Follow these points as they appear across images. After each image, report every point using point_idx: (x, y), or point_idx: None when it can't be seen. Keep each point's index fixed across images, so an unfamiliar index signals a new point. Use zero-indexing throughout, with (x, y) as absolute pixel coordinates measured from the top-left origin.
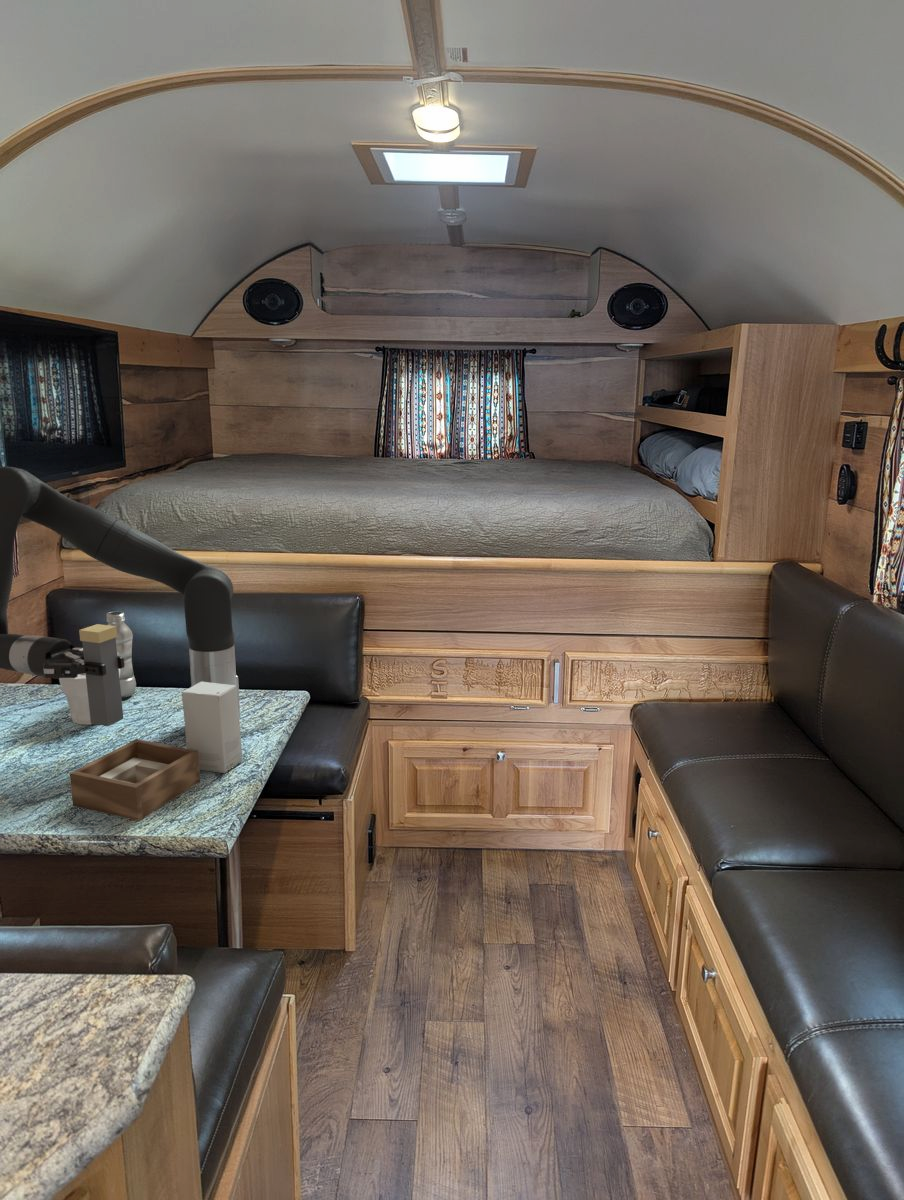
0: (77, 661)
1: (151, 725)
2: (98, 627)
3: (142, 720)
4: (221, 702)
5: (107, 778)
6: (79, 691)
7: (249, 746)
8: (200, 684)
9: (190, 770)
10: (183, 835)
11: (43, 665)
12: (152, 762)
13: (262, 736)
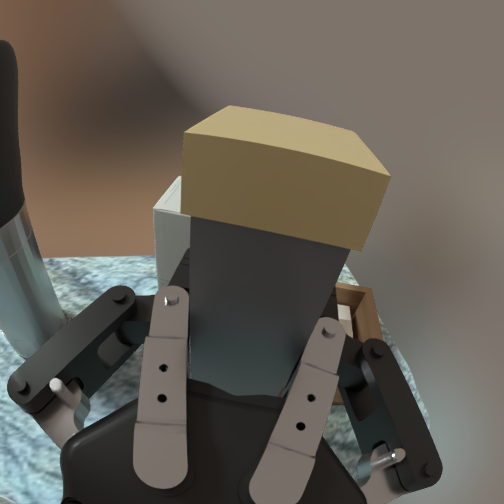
0: (337, 356)
1: (34, 426)
2: (274, 127)
3: (13, 445)
4: None
5: (373, 326)
6: None
7: (129, 277)
8: (173, 204)
9: None
10: (352, 276)
11: (439, 472)
12: None
13: (97, 271)
